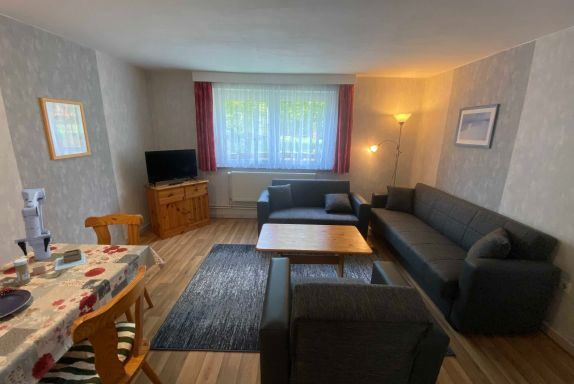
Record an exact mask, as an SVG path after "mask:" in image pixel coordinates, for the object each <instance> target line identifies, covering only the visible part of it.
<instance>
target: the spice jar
mask: <svg viewBox="0 0 574 384" xmlns="http://www.w3.org/2000/svg"><path fill="white" fill-rule="evenodd" d="M27 259H28V258H19V259H15V260H14V261H13V266H14V269H15V274H16V279H17V282H18V287H26V286H28V285H30V283H31V275H30V271H29V268H28V267H29V266H28V260H27Z"/></svg>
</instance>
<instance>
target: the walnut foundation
mask: <svg viewBox="0 0 574 384" xmlns="http://www.w3.org/2000/svg"><path fill="white" fill-rule="evenodd" d="M81 253H82V250H81V249H80V248H77V249H71V250H66V251H63V254H62V257H63V259H64V263H69V262H73V261H78V260H82V257H81Z"/></svg>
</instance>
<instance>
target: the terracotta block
mask: <svg viewBox="0 0 574 384" xmlns="http://www.w3.org/2000/svg"><path fill="white" fill-rule="evenodd" d="M46 266H47V265H46V262H42V263H40V262H39V263H36V264H33V265H32V273H33V276H35V275H40V274H44V273H46V271H47V267H46Z"/></svg>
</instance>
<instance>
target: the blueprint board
mask: <svg viewBox="0 0 574 384" xmlns="http://www.w3.org/2000/svg"><path fill="white" fill-rule="evenodd" d="M81 257H82V260H78V261H73V262H69V263H64V259H63V256H62V257H58V258H55V263H54V271H59V270H64V269H69V268H72V267H76V266H82V265H84V264H85V265H86V264H87V258H86V257H87V256H86V252H81Z"/></svg>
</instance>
